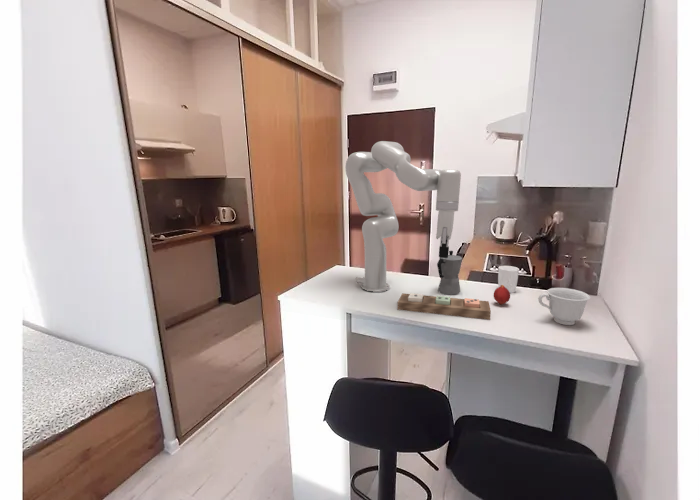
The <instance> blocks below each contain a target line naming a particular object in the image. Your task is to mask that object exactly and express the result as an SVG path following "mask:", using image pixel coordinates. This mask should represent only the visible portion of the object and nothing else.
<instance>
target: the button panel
mask: <svg viewBox="0 0 700 500" xmlns="http://www.w3.org/2000/svg"><path fill="white" fill-rule="evenodd" d="M409 295H410V293H401V295H400V296H399V299H398V301H397V311H406V312H408V311H409V312H415V313H423V314H424V313H426V314H434V315H443V316H451V317H453V316H454V317H462V318H471V319H481V320H489V321H490V320H491V315H492V314H491V313H492V311H491V306H490V302H489V300H480V299H479V303H480V307H479V308H473V307H464V299H465V298H456V297H450V305H443V304H436V296H437V295H436V296H434V295H424V294H423V302H413V301H408V297H409Z"/></svg>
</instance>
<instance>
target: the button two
mask: <svg viewBox="0 0 700 500" xmlns="http://www.w3.org/2000/svg"><path fill="white" fill-rule="evenodd" d="M450 298H451V296H448V295H445V296H444V295H436V304H443V305H450Z"/></svg>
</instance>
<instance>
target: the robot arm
mask: <svg viewBox="0 0 700 500" xmlns="http://www.w3.org/2000/svg"><path fill="white" fill-rule="evenodd" d="M411 162H412V158H411V155H410V154H409V153H407V152H406V151H405V149H404V147H403V146H402V145H401V144H400V143H399V142H397V141H396V142H395V141H386V140H381V141H377V142H375V143H374V144H373V146H372V147H371V150H370V151H357V152H353V153H351V154H350V155H348V157H347V158H346V162H345V175H346V178H347V180H348V182H349V184H350V186H351V188H352V192H353V195H354V199H355V201H356V203H357V204H356V206H357V207H358V210H359V212H360V214H361V215H362V216H364V217H365V216H366V217H368V216H369V217H370V216H372V217H370V218H368V219H366V220H364V222H363V224H362V226H361V232H362V233H361V234H362V237H363V243H364V244H363V245H364V276H363V277H358V276H357V277H356V278H355V282H357V284H361V287H362V288H363V289H365V290H367V291H366V292H368V291H373V292H372V293H381V292H382V291H383V292H386V290H387V291H388V290H390V288H391V287H390V284H389V283H387V247H386V246H387V245H386V244H385V241H384V239H386V238H392V237H394V236H396V235H397V234H398V232H399V226H400V225H399V224H400V223H399V221H398V217H397V214H396V212H395V209H394V208H395V207H394V205H393V203H392V200H391V199H390V197H389V196H388V195H387V194H385V193H381V192H378V193H376V192H375V190H374V188H373V185H372V182H371V181H370V179H369V178H368V177H367V176H366V175H365V173H379V172H382V171H385V170H386V169H388V170H390V171H392V172H393V173H394V174H395V176H396V178H397V179H398V181H400V182H401V183H402V184H403V185H405V186H406V187H408V188H410V189H412V190H413V191H416V192H427V191H429V192H430V191H436V202H435V211H438V214H437V221H436V222H437V223H436V234H435V235H436V237H435V239H436V240H439V239H440V241H439V248H438V249H439V250H438V258H439V259H440V258H448V255H449V251H450V249H449V248H450V245H449V241H450V240H451V238H452V234H453V229H454V220H455V212H458V211H459V206H460V201H459V200H460V193H461V191H460V189H461V179H462V178H461V177H462V173H461V171H460V170H458V169H435V168H431V169H430V168H420V167H417V166H416V165H414V164H412V163H411ZM373 216H376V217H373ZM362 288H361V289H362ZM363 289H362V290H363ZM365 290H364V291H365Z"/></svg>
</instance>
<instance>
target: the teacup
mask: <svg viewBox="0 0 700 500" xmlns="http://www.w3.org/2000/svg"><path fill="white" fill-rule="evenodd" d="M543 298H546V301H548V304H549V305H548V304H545V303H544V302H543ZM537 299H538V303H539V304H540V305H541V306H542V307H545V308H547V309H548V311H549V313H550V314H551V316H552V317H554V319H553V320H554V322H556V323H557V324H560V325H563V326H572V325H575V324H576V323H575V322H576V321H579V320H580V319H581V318H582V316H583V314H584V312H585V308H586V305H587V303H588V301H589V300H591V295H589V294H588V293H586V292H584V291H581V290H577V289H574V288H568V287H551V288H549V289H547V290H546V292H543V293H542V292H541V293H540V294H539V295H538V298H537Z"/></svg>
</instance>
